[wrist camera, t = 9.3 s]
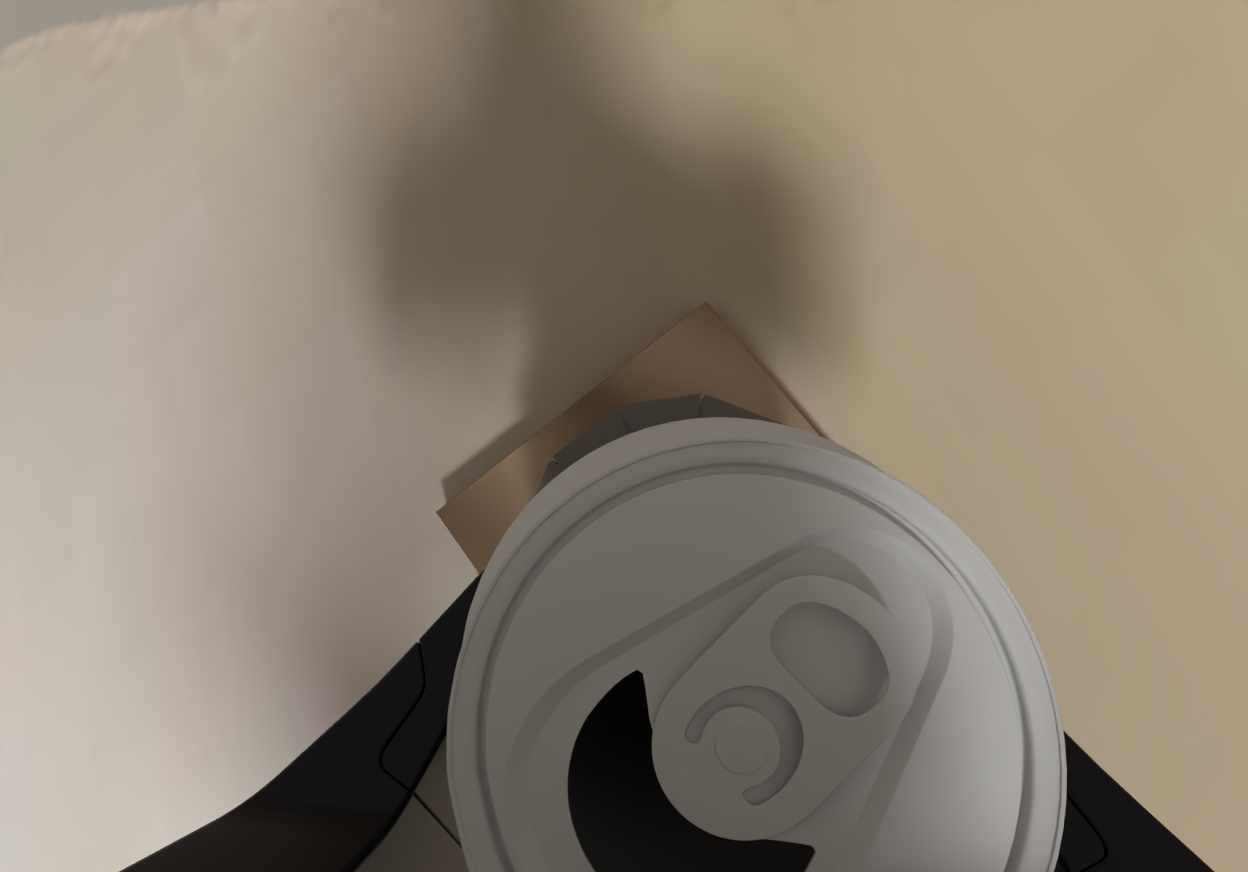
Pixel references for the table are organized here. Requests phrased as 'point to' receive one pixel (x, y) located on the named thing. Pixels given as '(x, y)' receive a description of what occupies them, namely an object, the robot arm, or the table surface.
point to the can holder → (623, 421)
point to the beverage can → (748, 673)
